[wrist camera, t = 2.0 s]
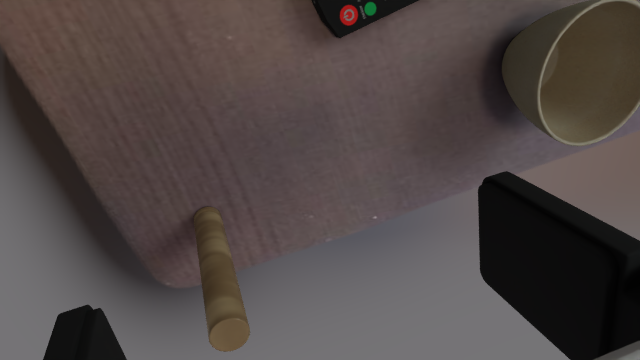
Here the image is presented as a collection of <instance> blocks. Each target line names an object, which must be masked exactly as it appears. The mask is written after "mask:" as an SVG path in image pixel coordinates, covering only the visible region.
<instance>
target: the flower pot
mask: <svg viewBox="0 0 640 360" xmlns="http://www.w3.org/2000/svg"><path fill="white" fill-rule="evenodd" d="M502 76H503V80H504V83H505V86H506V88H507V90H508V93H509V94H510V96H511V98H512V100H513V101H514V103H515V104H516V106H517V107H518V108H519V110H520V111H521V112H522V113H523V114H524V115H525V116H526V118H527V119H529V120H530V121H531V122H532V123H533V124H534V125H535V126H536V127H538V128H539V129H540V130H542V131H543V132H544V133H546V134H547V135H549V136H550V137H552V138H553V139H555V140H557V141H559V142H561V143H563V144H567V145H571V146H585V145H589V144H593V143H596V142H598V141H600V140H602V139H604V138H606V137H608V136H609V135H611V134H613V133H614V132H615V131H616V130H618V129H619V128H620V127H621V126H622V125H623V124H625V123H626V122H627V120H628V119H629V118H630V117H631V116H632V115H633V114H634V112H635V111H636V110H637V108H638V107H639V105H640V2H638V1H636V0H590V1H586V2H582V3H578V4H574V5H571V6H568V7H565V8H562V9H560V10H557V11H555V12H553V13H550V14H548V15H546V16H544V17H543V18H541V19H539V20H537V21H536V22H534V23H532V24H531V25H529V26H528V27H527V28H525V29H524V30H523V31H522V32H520V33H519V34H518V35H517V36H516V37H515V38H514V39H513V40H512V41H511V43H510V44H509V45H508V47H507V49H506V51H505V54H504V57H503V61H502Z"/></svg>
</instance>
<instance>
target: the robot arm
mask: <svg viewBox="0 0 640 360" xmlns="http://www.w3.org/2000/svg"><path fill="white" fill-rule="evenodd" d="M478 204H479V205H478V206H479V245H480V246H479V247H480V272H481V275H482V277H483V279H484V281H485V282H486V283H487V284H488V285H489V286H490V287H491V288H492V289H493V290H494V291H496V292H497V293H498V294H499V295H500V296H501V297H502V298H503V299H504V300H506V301H507V302H508V303H509V304H510V305H511V306H512V307H513V308H514V309H515V310H517V311H518V312H519V313H520V314H521V315H522V316H523V317H524V318H525V319H526V320H527V321H529V322H530V323H531V324H532V325H533V326H534V327H535V328H536V329H537V330H538V331H540V332H541V333H542V334H543V335H544V336H545V337H546V338H547V339H548V340H549V341H551V342H552V343H553V344H554V345H555V346H556V347H557V348H558V349H559V350H560V351H561V352H563V353H564V354H565V355H566V356H567V357H568V358H569V359H570V360H640V241H639V240H637V239H635V238H633V237H631V236H629V235H627V234H626V233H624V232H622V231H620V230H618V229H616V228H614V227H613V226H611V225H609V224H607V223H605V222H603V221H601V220H599V219H597V218H595V217H593V216H592V215H590V214H588V213H586V212H584V211H582V210H580V209H578V208H576V207H575V206H573V205H571V204H569V203H567V202H565V201H563V200H561V199H559V198H557V197H556V196H554V195H552V194H550V193H548V192H546V191H544V190H542V189H540V188H539V187H537V186H535V185H533V184H531V183H529V182H527V181H525V180H523V179H521V178H520V177H518V176H516V175H514V174H512V173H510V172H507V171H506V172H502V173H499V174H495V175H492V176H489V177H486V178H485V179H484V180H483V182H482V185H480V186H479V189H478ZM43 360H127V359H126V357H125V355H124V353H123V351H122V349H121V347H120V345H119V343H118V341H117V339H116V337H115V335H114V333H113V331H112V328H111V326H110V324H109V322H108V320H107V318H106V316H105V314H104V312H103V311H102V310H101V308H98V309H94V310H93V309H92V307H91V306H89V305H85V306H82V307H79V308H76V309H72V310H69V311H66V312H63V313H61V314H59V315H58V317H57V320H56V322H55V325H54V329H53V331H52V335H51V337H50V340H49V343H48V346H47V350H46V353H45V356H44V359H43Z"/></svg>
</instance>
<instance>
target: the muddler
mask: <svg viewBox="0 0 640 360" xmlns="http://www.w3.org/2000/svg"><path fill="white" fill-rule="evenodd" d="M194 227H195V235H196V243H197V251H198V258H199V266H200V274H201V282H202V289H203V298H204V305H205V313H206V321H207V329H208V337H209V342H210V344H211V345H212V347H214V348H215V349H217V350H219V351H224V352H226V351H233V350H236V349H238V348H240V347H241V346H242V345H244V344H245V343H246V341H247V340H248V338H249V335H250V329H249V324H248V321H247V317H246V313H245V309H244V305H243V301H242V297H241V293H240V289H239V285H238V281H237V277H236V273H235V269H234V265H233V261H232V257H231V253H230V249H229V245H228V241H227V237H226V233H225V229H224V225H223V221H222V217H221V214H220V212H219V211H218V210H217V209H215V208H213V207H204V208H201V209H200V210H198V211H197V212H196V214H195V216H194Z"/></svg>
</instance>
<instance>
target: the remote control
mask: <svg viewBox="0 0 640 360" xmlns="http://www.w3.org/2000/svg"><path fill="white" fill-rule="evenodd" d="M416 1H418V0H312V2H313V4H314V6H315V8H316V10H317V12H318V14H319V16H320V18H321V20H322V21H323V22H324V23H325V25H326V26H327V27H328V28H329V29H330V30H331V31H332V33H333V34H334V35H335V36H336V37H338V38H341V37H343V36H345V35H347V34H350V33H352V32H354V31H356V30H358V29H360V28H362V27H364V26H366V25H368V24H370V23H372V22H375V21H377V20H379V19H381V18H383V17H385V16H387V15H389V14H391V13H393V12H395V11H398V10H400V9H402V8H404V7H406V6H408V5H410V4H412V3H414V2H416Z"/></svg>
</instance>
